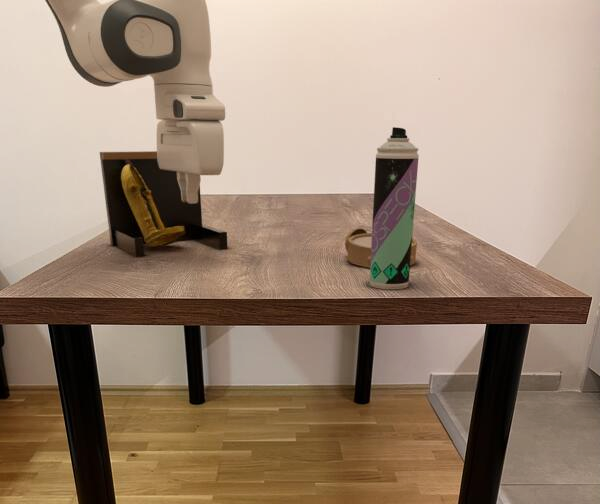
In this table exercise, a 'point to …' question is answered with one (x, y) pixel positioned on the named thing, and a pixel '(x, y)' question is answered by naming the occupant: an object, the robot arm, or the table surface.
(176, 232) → the shrine
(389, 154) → the spray can
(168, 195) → the black display stand
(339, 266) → the table surface
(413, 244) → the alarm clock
